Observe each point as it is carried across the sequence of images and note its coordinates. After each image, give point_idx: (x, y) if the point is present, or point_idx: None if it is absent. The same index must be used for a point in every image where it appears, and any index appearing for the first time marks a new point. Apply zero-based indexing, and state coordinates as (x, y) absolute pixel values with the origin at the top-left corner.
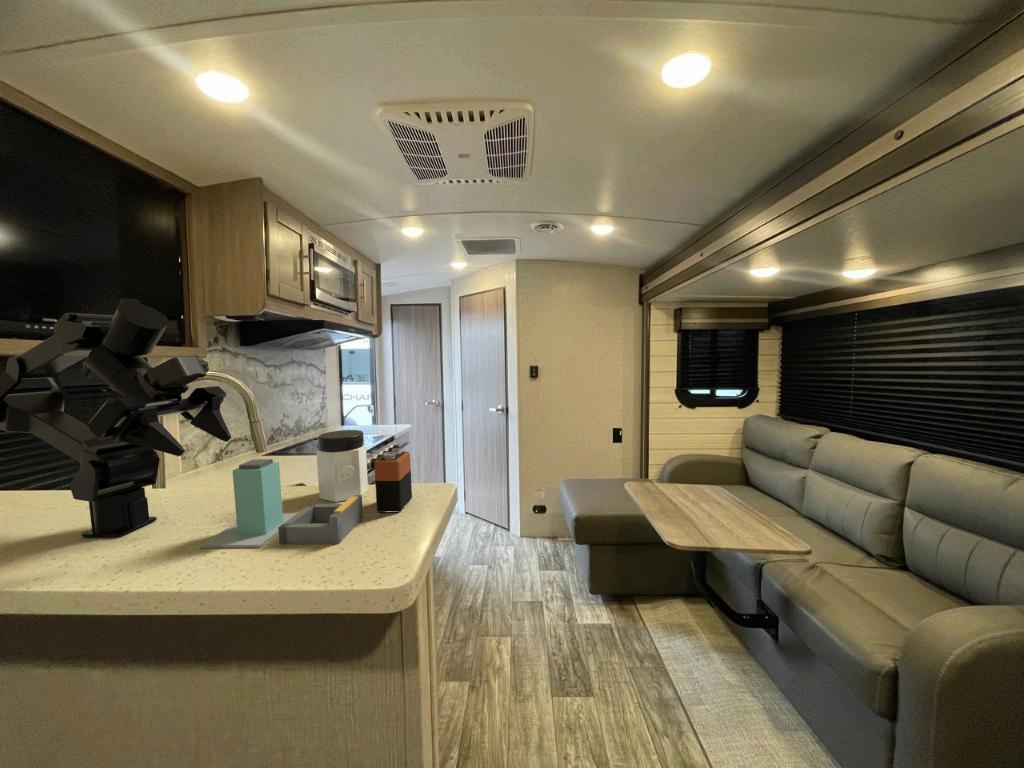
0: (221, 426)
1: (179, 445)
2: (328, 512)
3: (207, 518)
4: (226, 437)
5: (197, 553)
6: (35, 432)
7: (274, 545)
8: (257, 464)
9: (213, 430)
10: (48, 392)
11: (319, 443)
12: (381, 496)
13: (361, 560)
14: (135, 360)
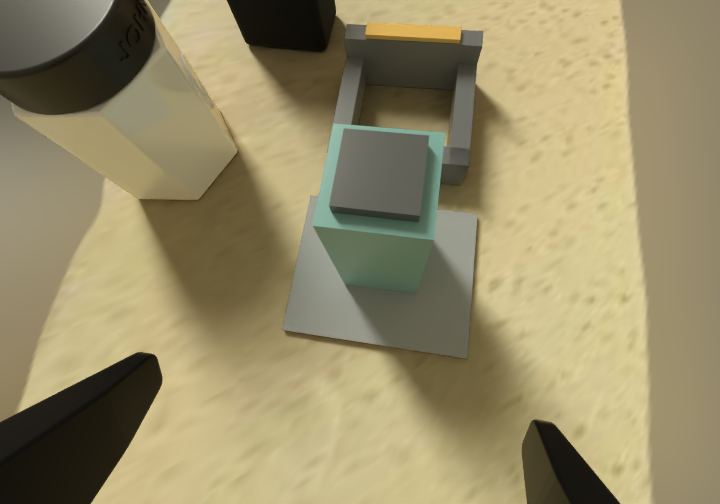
0: (68, 422)
1: (565, 456)
2: (355, 115)
3: (266, 462)
4: (148, 377)
5: (493, 345)
6: None
7: (466, 192)
8: (421, 145)
9: (63, 500)
10: None
11: (88, 77)
12: (323, 9)
13: (537, 26)
14: None
